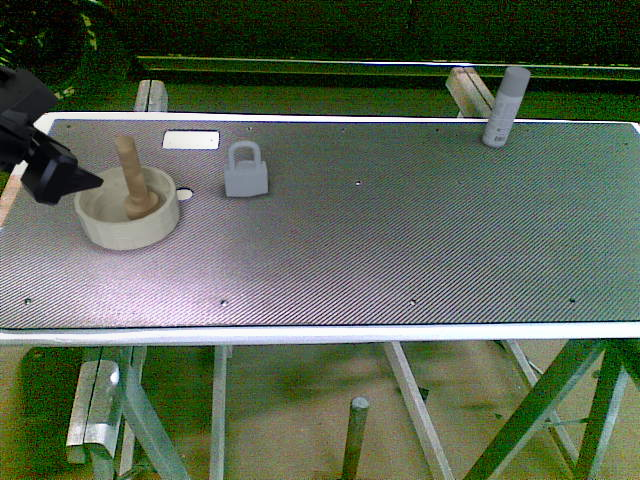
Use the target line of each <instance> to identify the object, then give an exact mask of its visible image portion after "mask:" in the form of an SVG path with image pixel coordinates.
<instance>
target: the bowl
mask: <svg viewBox="0 0 640 480" xmlns="http://www.w3.org/2000/svg"><path fill="white" fill-rule="evenodd" d="M140 165H141V169H142V173H143V177H144V180H145V184H146V188H147V191H151V192H154V193H155V194H156V195H157V197H158V200H159V204H160V209H158V210H157V211H156V212H154V213H152V214H150V215H148V216H146V217H144V218H141V219H138V220H134V221H131V220H130V219H128V217H127V214H126V211H125V208H124V204H123V202H124V199H125V198H126V197H127V196H128V195H129V190H128V187H127V183H126V180H125V177H124V173H123V170H122V166H121V165H120V166H116V167H111V168H108V169H105V170H103V171H101V172H98V173H96V174H95V175H97V176H99V177H100V178H102V179H103V180H104V182H103V184H102V186H101V187H98V188H94V189H89V190H85V191H80V192H76V193H75V196H74V199H73V204H74V209H75V212H76V214H77V216H78V220H79V221H80V224H81V227H82V230H83V231H84V234H85V236H86V237H87V238H88V239H89V240H90V241H91V242H92V243H93V244H95V245H97V246H100V247H102V248H104V249H108V250H115V251H129V250H130V251H131V250H139V249H141V248H145V247H149V246H151V245H153V244H156V243H157V242H160V241H161V240H163V239H165V238H166V237H167V236H168V235H169V234H170V233H171V232H173V230H175V228H176V226H177V225H178V223H179V221H180V218H181V206H180V202H179V196H178V192H177V191H178V190H177V186H176V184H175V182H174V179H173V178H172V177H171V176H170V175H169V174H168V173H166V171H164V170H162V169H160V168H157V167H155V166H149V165H144V164H140Z"/></svg>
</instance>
